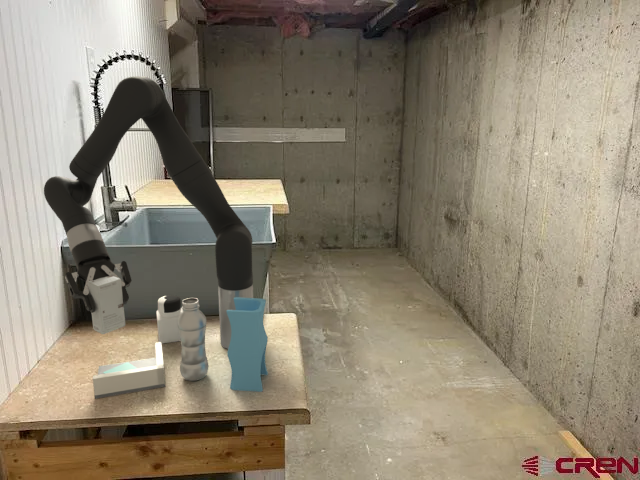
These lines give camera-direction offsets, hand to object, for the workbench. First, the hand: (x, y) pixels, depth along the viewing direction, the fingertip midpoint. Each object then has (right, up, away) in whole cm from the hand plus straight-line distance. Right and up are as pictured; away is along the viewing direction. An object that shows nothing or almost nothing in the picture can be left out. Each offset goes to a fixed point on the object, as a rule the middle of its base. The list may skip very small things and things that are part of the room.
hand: (109, 306), depth 110 cm
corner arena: (+3, -18, +4) cm, 19 cm away
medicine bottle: (+7, -12, +24) cm, 28 cm away
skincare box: (-1, -5, +3) cm, 6 cm away
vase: (+32, -19, +4) cm, 37 cm away
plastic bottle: (+18, -18, +5) cm, 26 cm away
